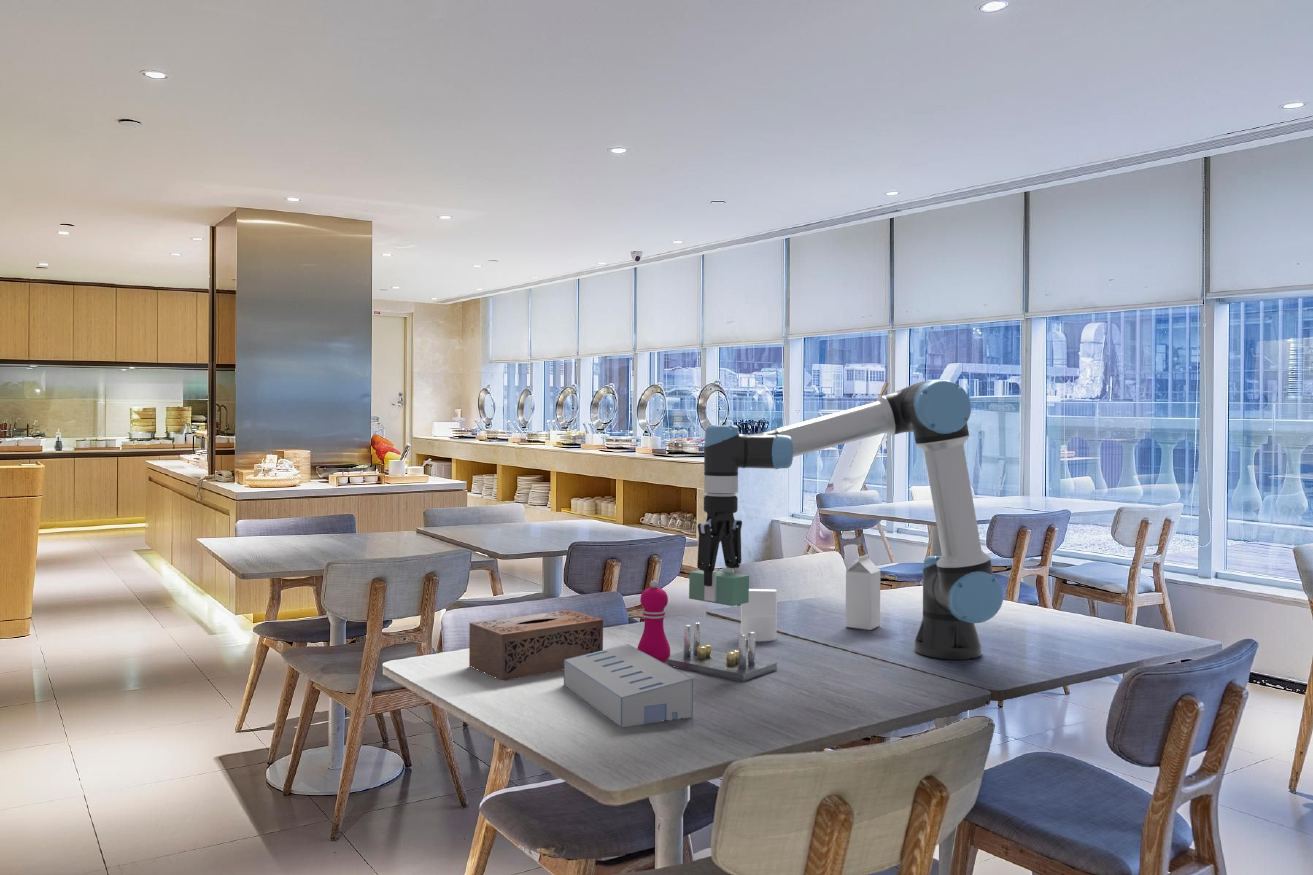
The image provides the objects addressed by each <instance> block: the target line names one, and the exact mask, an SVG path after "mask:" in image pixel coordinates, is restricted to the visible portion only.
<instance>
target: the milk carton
mask: <svg viewBox="0 0 1313 875" xmlns="http://www.w3.org/2000/svg"><path fill="white" fill-rule="evenodd" d="M850 565H851V567H850V568H848V569H847V570H846V571H845V628H852V629H860V630H867V631H872V630H874V629H876V628H878V627H880V626H881V569H880V568H879V567H878V566H877V565H876V564H875V563H873V561H872V560H871V559H869V554H868V553H867V554H864V555H861V556H858V558H856V559H855V560H853V561H852V562H851V563H850Z"/></svg>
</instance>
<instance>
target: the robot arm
mask: <svg viewBox="0 0 1313 875" xmlns="http://www.w3.org/2000/svg"><path fill="white" fill-rule="evenodd" d="M971 412H972V402H971V399H970V397H969V394H968V393H967V391H966V390H965V389H964V388H963V387H962V386H961V385H959V384H958V383H956V382H954V381H951V380H947V379H940V378H938V379H932V380H927V381H919V382H917V383H914V384H911V385H908V386H906V387H904V388H902V389H899V390H896V391H895V392H891V393H888V394H885V395H880V397H879V398H878V400H877V401H875V402H871V403H868V404H864V405H860V406H856V407H851V408H849V409H845V410H841V411H837V412H834V413H830V414H825V415H823V416H818V417H814V418H811V419H806V420H804V421H799V422H796V423H792V424H789V425H785V426H781V427H778V428H774V429H771V430H766V431H763V432H755V433H752V434H743V433H740V431H739V430H740V428H739V426H737V425H725V424H722V425H720V424H718V425H717V424H716V425H715V424H711V425H709V426H707V427H706V428H705V432H704V433H705V435H704V445H703V446H704V448H703V449H704V450H703V451H704V454H703V455H704V457H703V458H704V459H703V460H704V461H703V464H704V467H703V471H704V472H703V473H704V474H703V475H704V476H703V477H704V478H703V479H704V480H703V481H704V483H703V485H704V486H703V492H704V493H705V494H706V495H704V496H703V511H704V513H706V514H707V516H706V520H705V522H704V523H700V522H699V523H698V524H697V531H698V546H697V566H696V568H697V570H698V569H699V570H702V571H704V586H705V587H704V600H707V601H713V602H715V601H716V577H717V572H716V571H717V570H716V571H714V570H715V567H716V564H717V558H718V557H717V556H718V553H719V552H718V551H719V546H720V544H721V549H722V555H723V559H724V560H723V561H724V565H725V566H724V567H723V566H722V571H723V572H729V573H736V569H738V568H740V567H741V566H740V564H742V537H741V536H742V535H741V534H742V525H743V521H742V520H740V519H735V515H734V514H735V513H737V512H738V506H739V505H738V503H739V500H738V498H739V497H738V496H737V495H736V494H738V493H739V469H771V470H773V469H774V470H778V469H788V468H791V466H792V464H793V461H794V457H798V456H802V455H806V454H809V453H813V452H818V451H821V450H825V449H829V448H833V447H836V446H840V445H844V444H848V443H850V442H855V441H860V440H864V439H867V438H870V437H874V436H879V435H882V434H888V435H890V436H894V435H898V434H903V433H913V435H914V442H915V445H916V447H919V448H920V449H921V450H922V451H923V453H924V459H925V464H926V465H925V466H926V470H927V476H928V481H929V486H930V487H929V488H930V494H931V499H932V505H933V511H934V512H933V513H934V519H935V522H936V528H937V534H938V540H939V546H940V552H941V555H930V556H929V555H927V556H926V557H924V560H923V567H922V618H921V621H920V625H919V628H918V631H917V632H916V633H917V634H916V636H915V640H914V651H915V653H917V654H920V655H922V656H926V657H930V658H936V659H943V660H944V659H945V660H971V659H970V658H973V659H977V658H979V657H980V656H981V655H982V644H981V640H980V638H979V635H978V632H977V628H976V625H975V624H981V623H985V622H987V621H990V620H991V619H992V618H994V617H995V616H996V615H997V613H999V611H1000V610H1001V608H1002V606H1003V602H1004V590H1003V587H1002V585H1001V583H1000V582H999V579H997V578H996V576H994V572H993V566H992V562H991V557H990V555H988V553H985V552H984V551H983V550H982V545H981V539H980V533H979V528H978V522H977V515H976V510H975V509H976V508H975V504H974V498H973V492H972V487H971V482H970V481H971V480H970V474H969V469H968V462H967V458H966V451H965V446H964V444H965V443H966V441H967V440H968V439H969V437H970V433H969V432H970V431H969V426H968V421H969V419H970V417H971V414H972V413H971Z"/></svg>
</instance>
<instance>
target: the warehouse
mask: <svg viewBox="0 0 1313 875" xmlns="http://www.w3.org/2000/svg"><path fill="white" fill-rule="evenodd" d="M565 685H566V686H565ZM563 686H565V687H566V688H567V687H568V688H567V689H569V688H570V689H569V690H570V691H571V692H573V691H574V692H575V693H574V692H573V693H574V694H576V693H577V694H578V695H577V694H576V695H577V696H578V697H580V696H581V697H580V698H581V699H582V698H583V701H585V702H586V703H588V704H589V705H591V706H592V707H594V708H595V709H596V710H598V711H599V713H601V714H603V715H604V716H606V717H607V718H608V719H610V720H611V721H612V720H613V721H612V722H613V723H615V724H617V725H618V726H619V727H621V728H624V727H625V728H627V727H631V726H640V725H645V724H651V723H652V724H653V723H658V721H660V722H663V721H662V720H669V721H674V720H673V719H675V720H681V719H680V718H683V719H689V718H690V719H691V718H694V678H693V677H692V676H689V675H687V674H686V673H684V672H682V671H680V670H678V669H676V668H675V667H672V666H669V665H667V664H665V663H663V662H661V661H659V660H657V659H655V658H653V657H652V656H650V655H648V654H646V653H644V652H642V651H640V650H638V649H637V648H636V647H634V646H632V645H630V644H623V645H619V646H615V647H610V648H607V649H603V650H602V651H598V652H594V653H590V654H586V655H582V656H577V657H573V658H569V659H565V660H564V670H563Z"/></svg>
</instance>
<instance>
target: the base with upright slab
mask: <svg viewBox="0 0 1313 875" xmlns="http://www.w3.org/2000/svg"><path fill="white" fill-rule="evenodd" d="M777 602H778V590H777V589H776V588H775V589H771V588H768V589H767V588H749V603H744V604H740V634H744V635H746V641H748V632H756V636H755V642H771V641H775V640H776V639H777V629H778V626H777V624H778V623H777V621H778V620H777V618H778V617H777V616H778V613H777V612H778V611H777V610H778V608H777V607H778V605H777V604H778V603H777Z"/></svg>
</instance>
